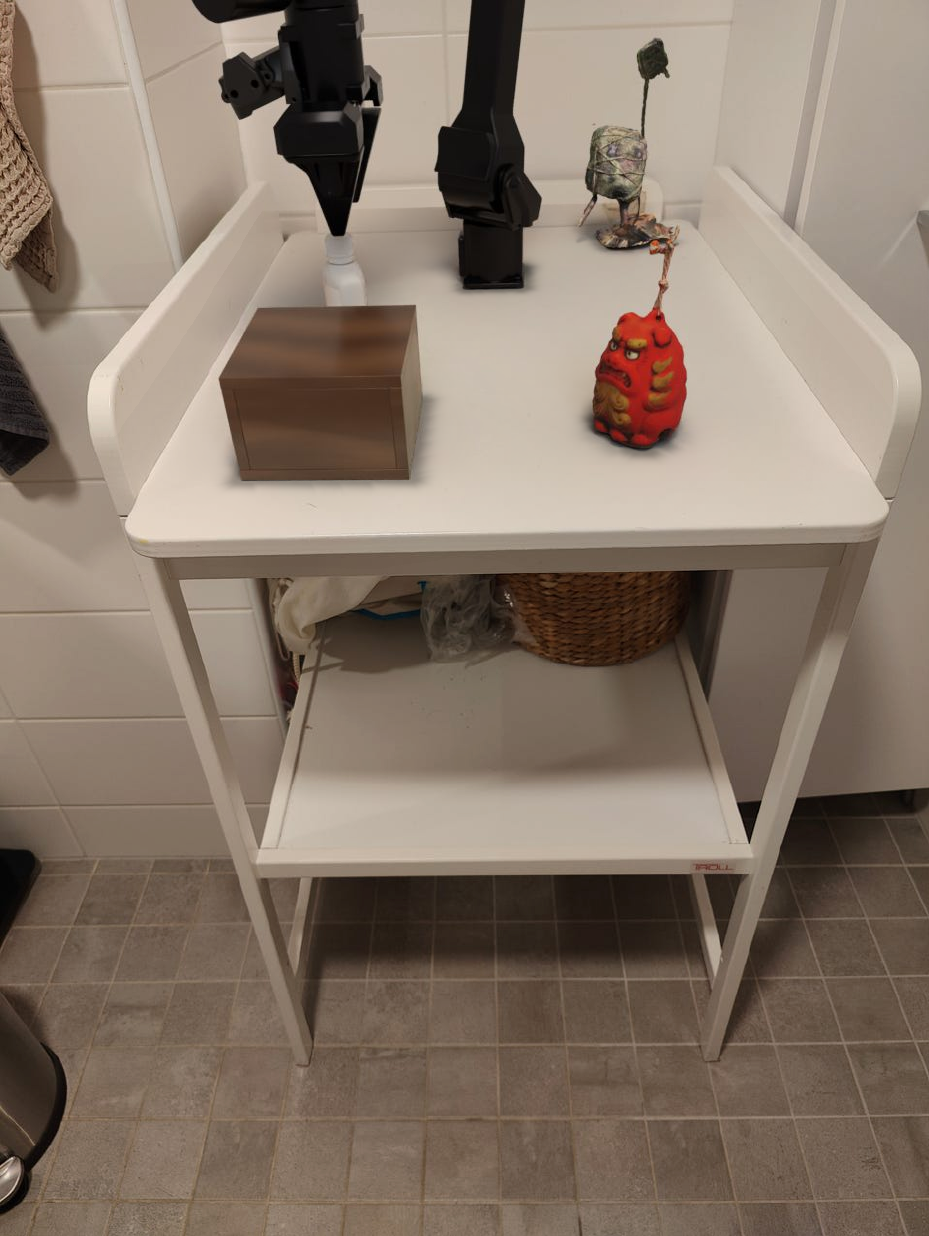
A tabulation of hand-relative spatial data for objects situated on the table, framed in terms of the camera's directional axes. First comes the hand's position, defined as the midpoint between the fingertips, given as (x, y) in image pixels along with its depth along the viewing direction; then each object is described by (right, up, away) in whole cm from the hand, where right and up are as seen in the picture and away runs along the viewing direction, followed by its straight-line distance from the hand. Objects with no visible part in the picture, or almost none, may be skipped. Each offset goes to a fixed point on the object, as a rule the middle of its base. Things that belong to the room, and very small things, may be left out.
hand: (346, 218), depth 79 cm
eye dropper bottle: (0, -10, +6) cm, 12 cm away
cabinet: (0, -20, -6) cm, 21 cm away
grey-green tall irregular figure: (+29, +10, +28) cm, 42 cm away
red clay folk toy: (+24, -20, -6) cm, 32 cm away
